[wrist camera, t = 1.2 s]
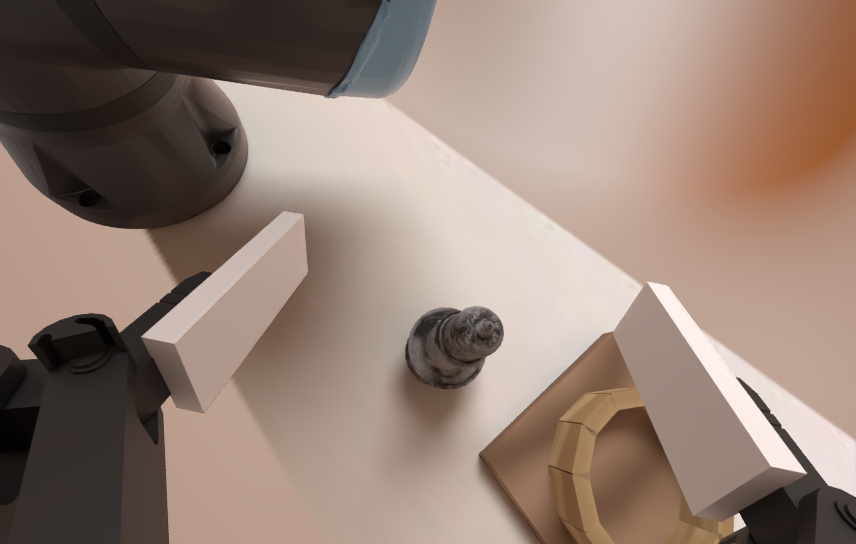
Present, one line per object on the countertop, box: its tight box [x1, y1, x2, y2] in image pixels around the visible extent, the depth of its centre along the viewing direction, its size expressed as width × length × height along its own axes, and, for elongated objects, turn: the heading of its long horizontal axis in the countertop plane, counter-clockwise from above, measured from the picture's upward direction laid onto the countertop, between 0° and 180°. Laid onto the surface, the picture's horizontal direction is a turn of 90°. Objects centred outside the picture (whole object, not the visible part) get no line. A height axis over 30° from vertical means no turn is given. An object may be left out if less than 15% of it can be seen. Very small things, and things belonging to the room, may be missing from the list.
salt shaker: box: [406, 306, 504, 389], centre depth 22 cm, size 6×6×12 cm
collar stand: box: [479, 331, 734, 544], centre depth 25 cm, size 16×16×4 cm
